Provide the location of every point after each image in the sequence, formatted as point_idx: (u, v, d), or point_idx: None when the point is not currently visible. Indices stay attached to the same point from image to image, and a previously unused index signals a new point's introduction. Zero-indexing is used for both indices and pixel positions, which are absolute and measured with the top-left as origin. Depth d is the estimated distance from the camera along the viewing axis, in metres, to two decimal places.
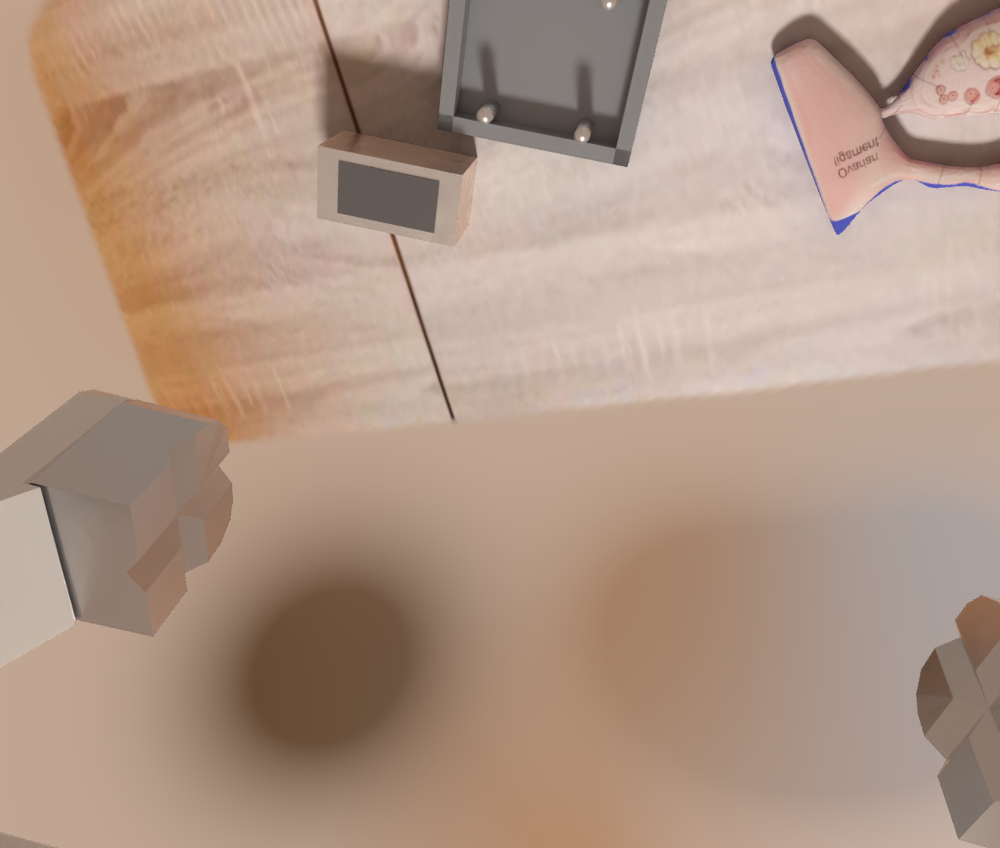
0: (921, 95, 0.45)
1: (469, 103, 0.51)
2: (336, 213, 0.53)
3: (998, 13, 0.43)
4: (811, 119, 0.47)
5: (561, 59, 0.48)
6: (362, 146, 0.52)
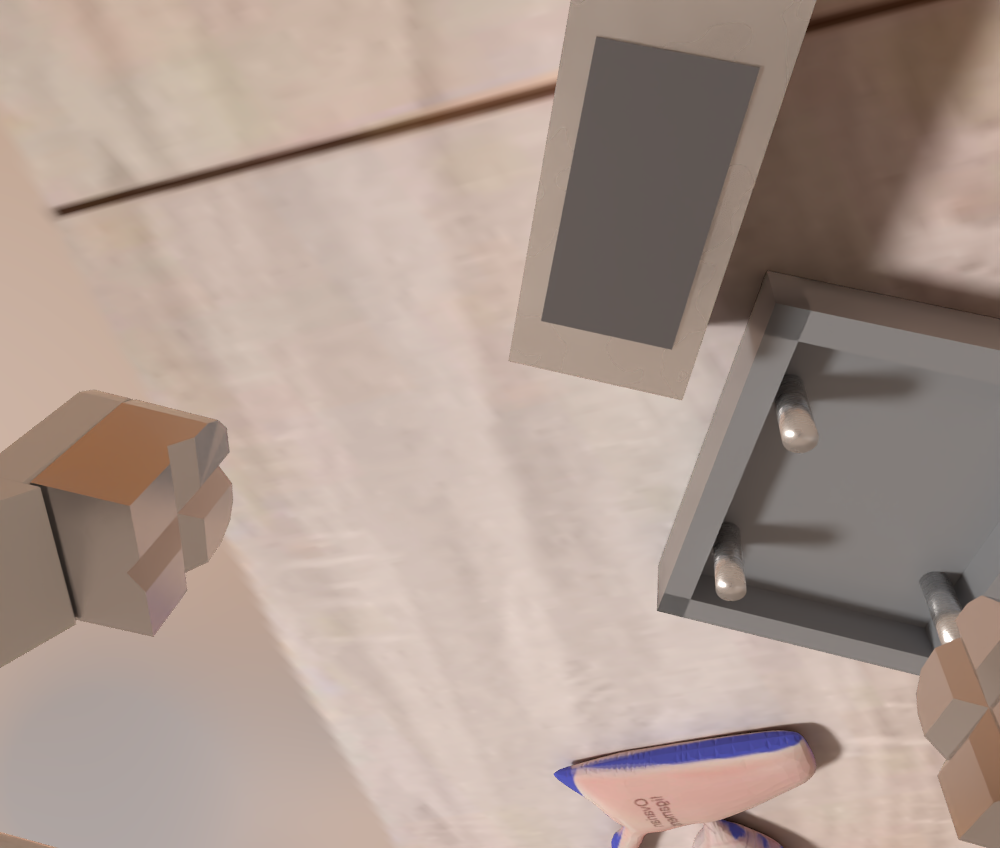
0: None
1: (805, 344, 0.23)
2: (593, 31, 0.17)
3: None
4: (714, 780, 0.35)
5: (852, 507, 0.26)
6: None
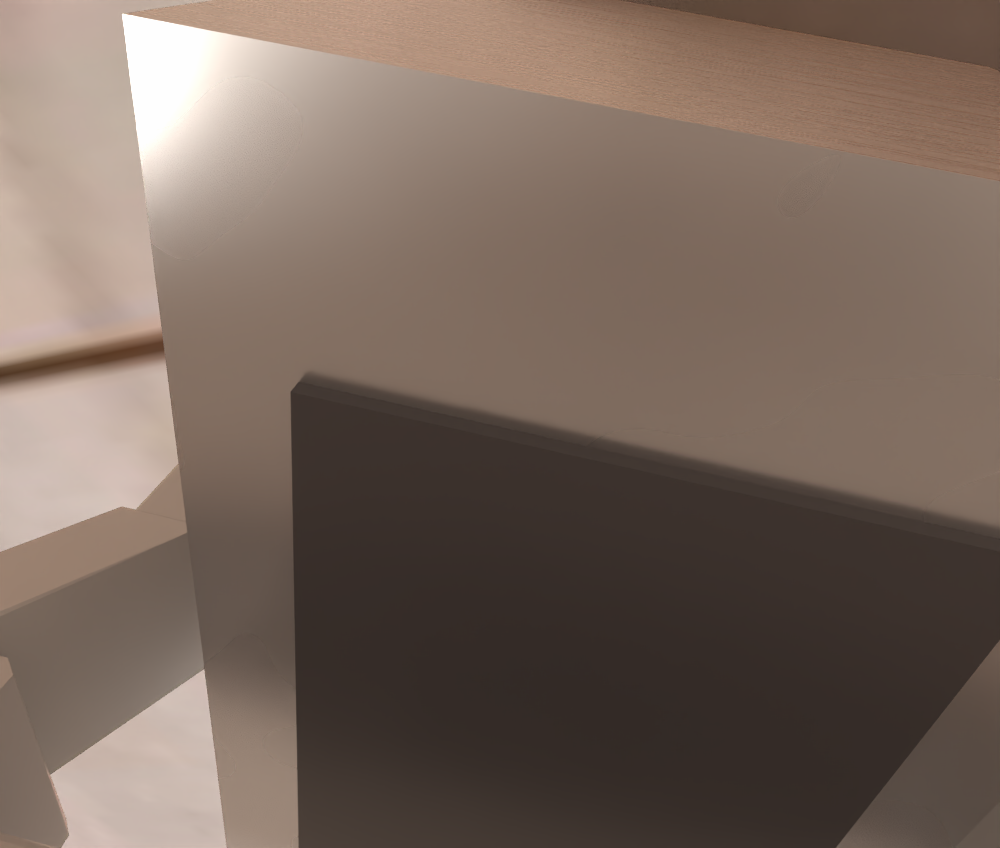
0: None
1: None
2: (280, 362, 0.04)
3: None
4: None
5: None
6: None
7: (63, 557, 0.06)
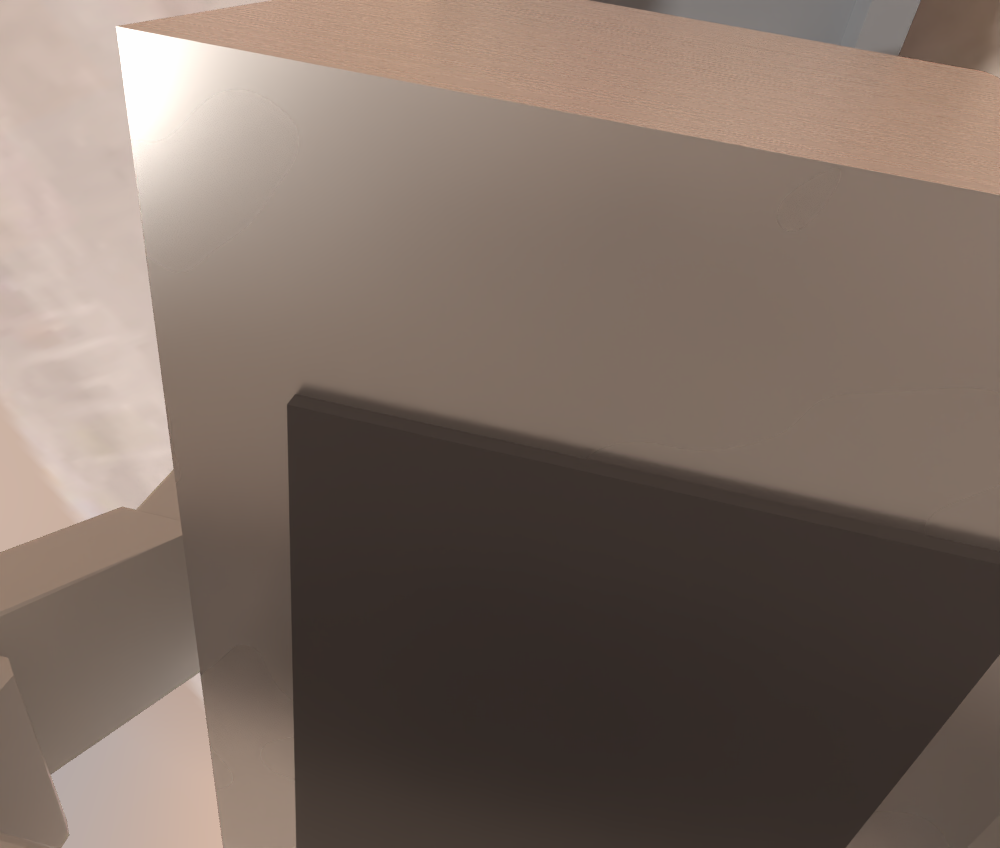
0: None
1: None
2: (275, 374, 0.04)
3: None
4: None
5: None
6: None
7: (63, 557, 0.06)
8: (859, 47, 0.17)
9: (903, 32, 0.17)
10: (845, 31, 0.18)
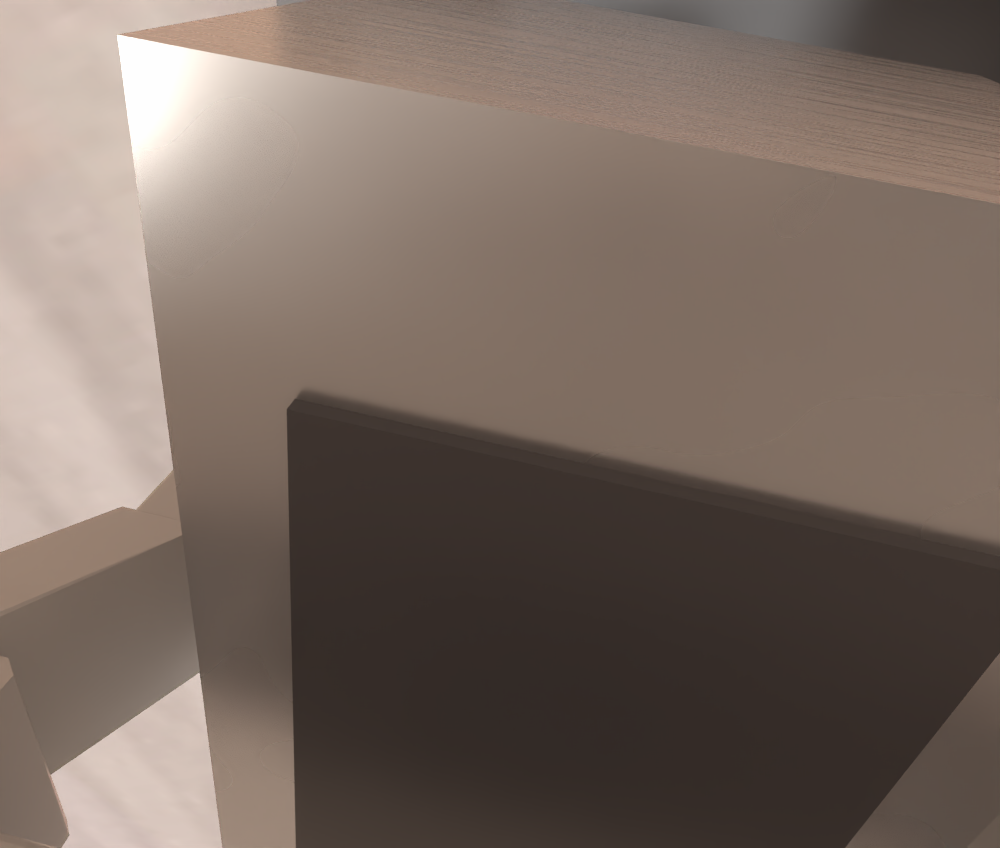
0: None
1: None
2: (275, 380, 0.04)
3: None
4: None
5: None
6: None
7: (63, 557, 0.06)
8: None
9: None
10: None
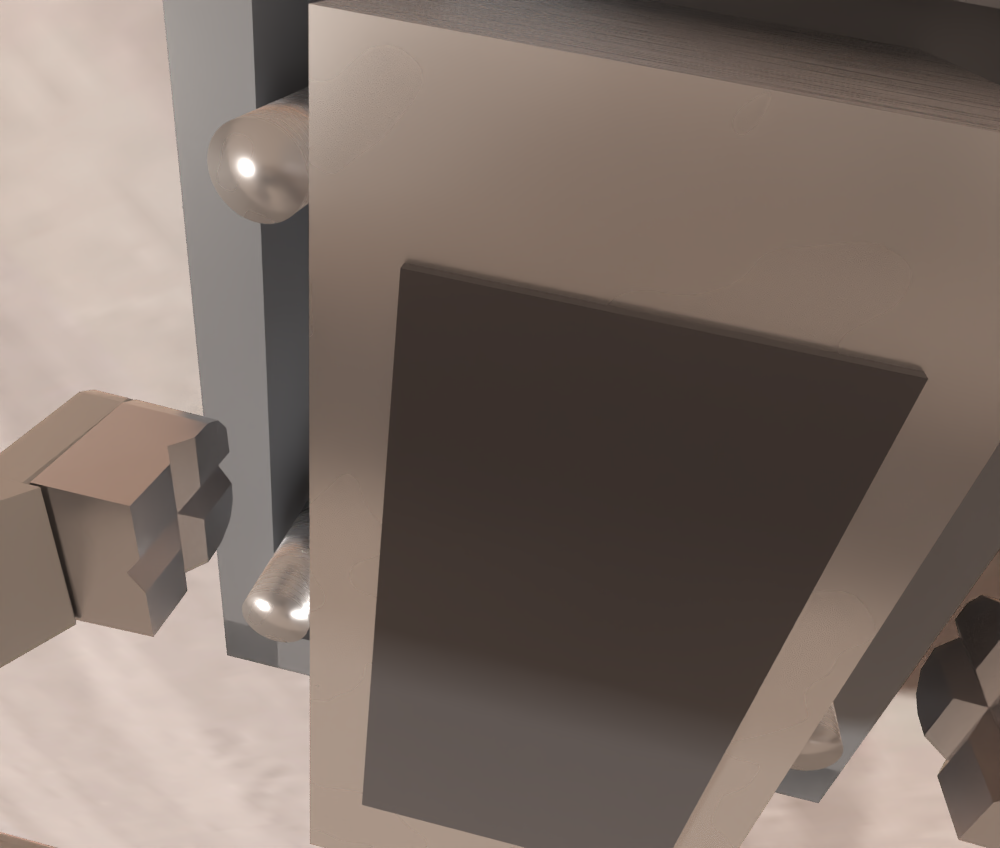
0: None
1: None
2: (392, 248, 0.05)
3: None
4: None
5: None
6: None
7: None
8: None
9: None
10: None
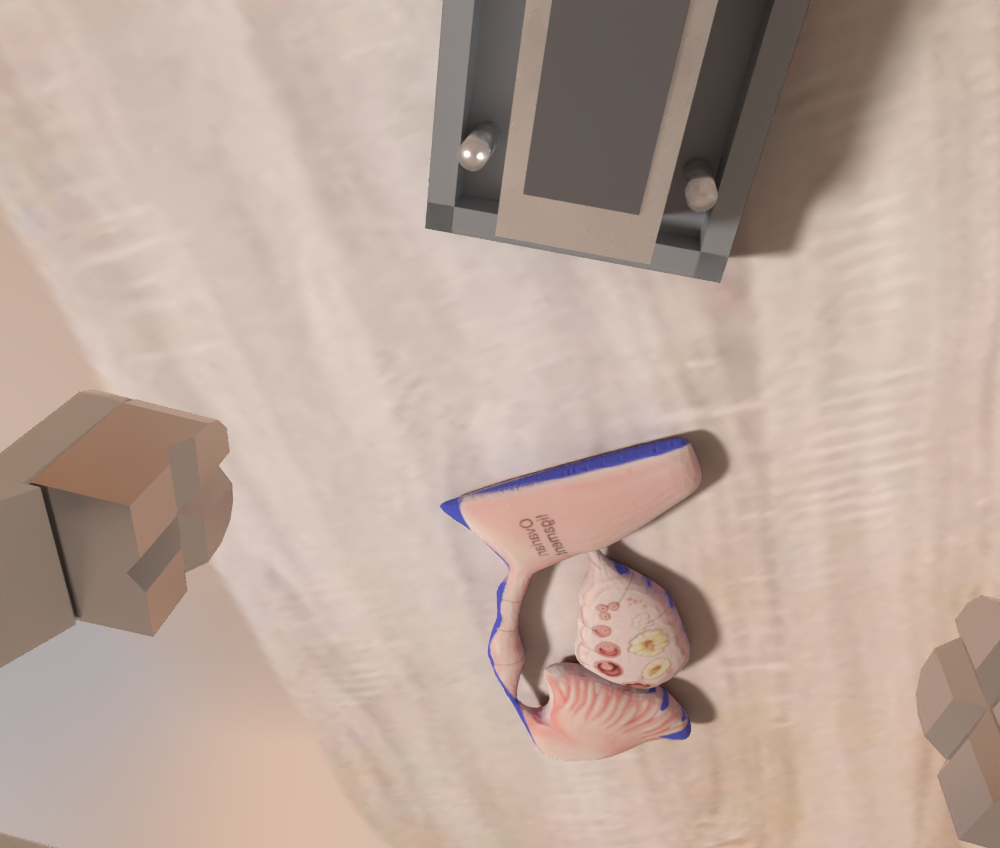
0: (609, 588, 0.38)
1: None
2: None
3: (683, 641, 0.39)
4: (600, 491, 0.34)
5: None
6: None
7: None
8: None
9: None
10: None
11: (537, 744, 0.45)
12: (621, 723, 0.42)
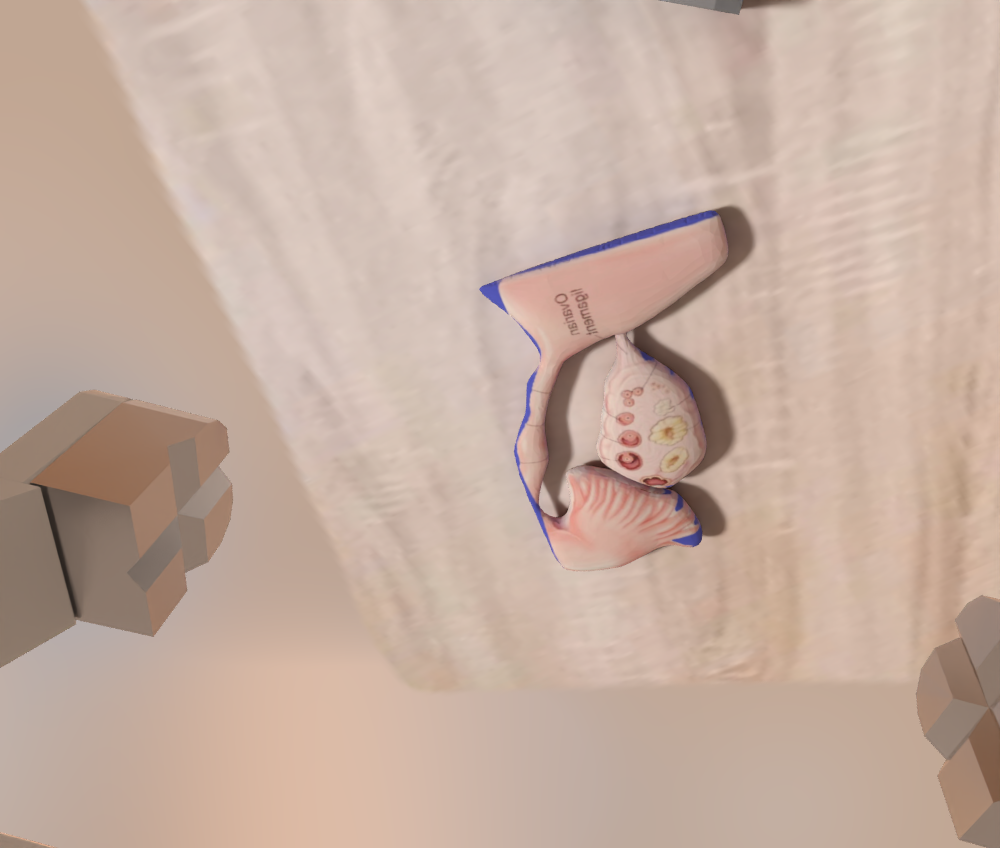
0: (635, 373, 0.40)
1: None
2: None
3: (700, 433, 0.41)
4: (633, 262, 0.37)
5: None
6: None
7: None
8: None
9: None
10: None
11: (555, 552, 0.48)
12: (637, 522, 0.45)
